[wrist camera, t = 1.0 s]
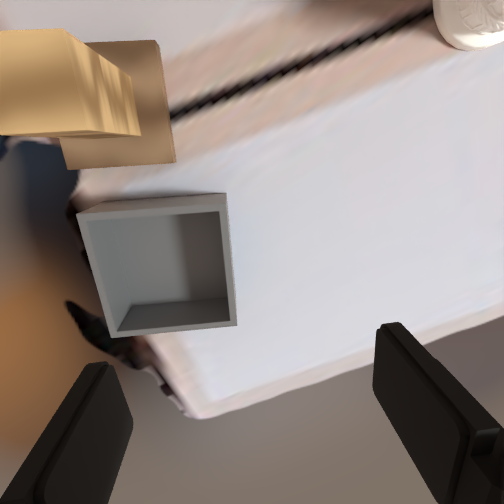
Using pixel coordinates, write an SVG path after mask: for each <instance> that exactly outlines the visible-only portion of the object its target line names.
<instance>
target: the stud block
mask: <svg viewBox="0 0 504 504" xmlns="http://www.w3.org/2000/svg"><path fill="white" fill-rule="evenodd" d="M84 44H85V45H87V46H88V47H90V48H91V49H92V50H94V51H95V52H97V53H98V54H99V55H101V56H102V57H104V58H105V59H106V60H108V61H109V62H111V63H112V64H113V65H115V66H116V67H118V68H119V69H120V70H122V71H123V72H125V73H126V74H127V75H129V76H130V77H131V83H132V88H133V94H134V99H135V105H136V110H137V116H138V121H139V126H140V132H141V136H134V137H117V138H100V139H74V138H59V140H60V144H61V147H62V151H63V155H64V158H65V162H66V165H67V169H68V170H73V169H89V168H105V167H120V166H135V165H151V164H166V163H175V162H176V156H175V149H174V143H173V136H172V129H171V122H170V115H169V109H168V102H167V95H166V88H165V81H164V75H163V68H162V61H161V54H160V47H159V45H158V44H157V42H156V41H155V40H140V41H116V42H92V43H84Z"/></svg>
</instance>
